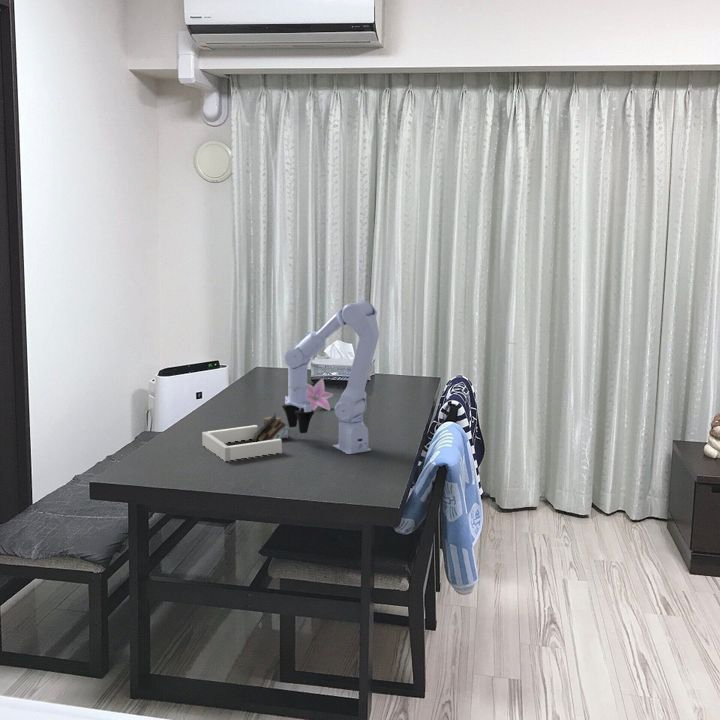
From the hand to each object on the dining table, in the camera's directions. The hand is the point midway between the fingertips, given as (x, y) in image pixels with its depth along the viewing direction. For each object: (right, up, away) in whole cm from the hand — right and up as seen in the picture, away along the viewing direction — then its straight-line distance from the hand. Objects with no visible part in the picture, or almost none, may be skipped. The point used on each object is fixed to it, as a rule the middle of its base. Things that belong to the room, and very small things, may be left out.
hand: (298, 429), depth 260 cm
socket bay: (-15, -5, -8) cm, 18 cm away
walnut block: (-9, -1, +13) cm, 16 cm away
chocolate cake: (-8, -4, +2) cm, 9 cm away
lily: (+3, +4, +41) cm, 41 cm away
